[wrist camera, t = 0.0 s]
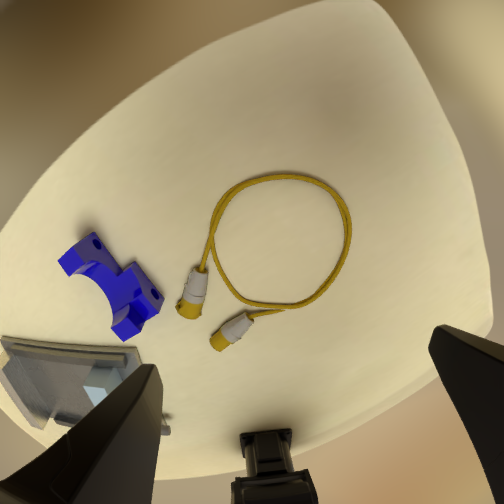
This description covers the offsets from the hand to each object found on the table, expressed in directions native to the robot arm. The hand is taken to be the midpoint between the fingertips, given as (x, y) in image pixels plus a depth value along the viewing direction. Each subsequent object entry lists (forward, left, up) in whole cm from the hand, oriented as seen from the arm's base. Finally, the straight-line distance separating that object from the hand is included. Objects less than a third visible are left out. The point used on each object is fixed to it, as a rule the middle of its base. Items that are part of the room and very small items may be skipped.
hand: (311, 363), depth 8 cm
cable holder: (-3, +11, -15) cm, 19 cm away
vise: (-17, +22, -15) cm, 32 cm away
